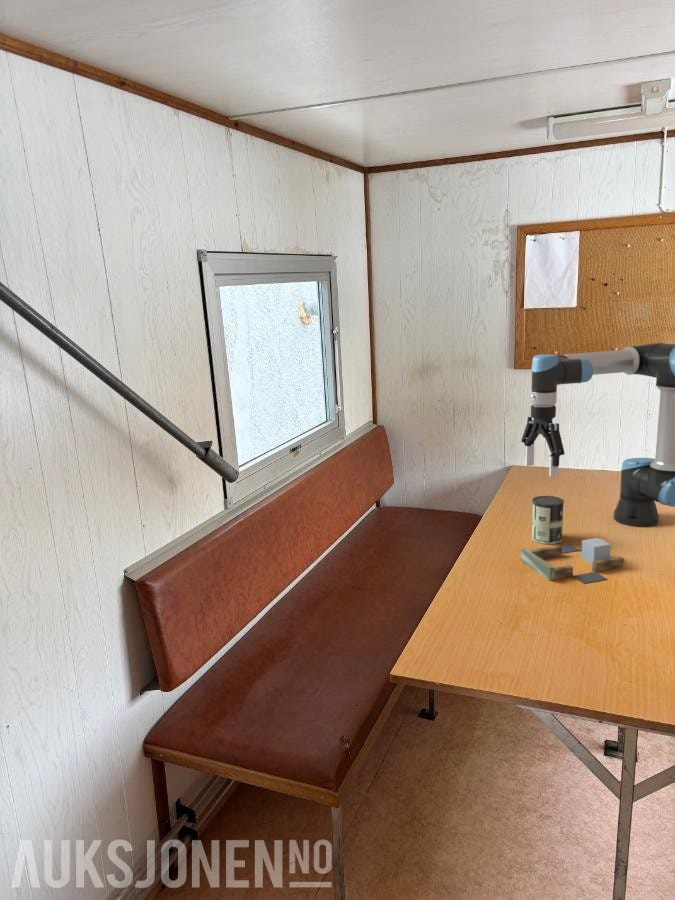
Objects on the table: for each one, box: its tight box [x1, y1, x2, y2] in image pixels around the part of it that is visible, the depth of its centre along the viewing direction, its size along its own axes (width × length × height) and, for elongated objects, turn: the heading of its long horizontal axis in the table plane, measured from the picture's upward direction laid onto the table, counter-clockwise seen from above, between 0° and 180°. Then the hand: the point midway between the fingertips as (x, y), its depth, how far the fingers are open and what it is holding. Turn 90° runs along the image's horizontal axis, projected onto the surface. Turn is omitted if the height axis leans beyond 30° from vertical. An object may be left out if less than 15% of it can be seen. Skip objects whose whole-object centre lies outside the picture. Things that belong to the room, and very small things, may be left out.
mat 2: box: [572, 571, 608, 584], centre depth 200 cm, size 8×6×1 cm
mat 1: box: [560, 543, 581, 554], centre depth 221 cm, size 8×6×1 cm
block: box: [581, 537, 612, 565], centre depth 212 cm, size 6×6×6 cm
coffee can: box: [531, 495, 565, 545], centre depth 229 cm, size 10×10×14 cm
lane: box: [520, 541, 625, 581], centre depth 210 cm, size 26×16×4 cm, turn 106°
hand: (541, 470), depth 213 cm, fingers open, 13 cm apart
